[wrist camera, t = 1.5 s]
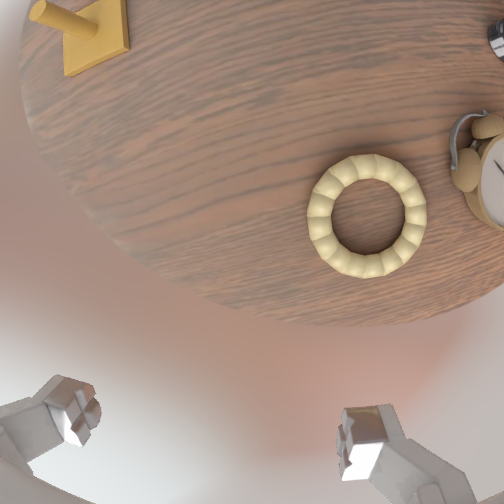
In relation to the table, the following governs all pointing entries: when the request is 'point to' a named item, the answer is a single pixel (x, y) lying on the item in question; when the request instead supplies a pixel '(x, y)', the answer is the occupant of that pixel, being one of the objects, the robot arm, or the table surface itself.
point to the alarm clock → (481, 168)
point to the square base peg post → (87, 31)
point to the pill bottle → (497, 38)
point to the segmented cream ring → (323, 205)
